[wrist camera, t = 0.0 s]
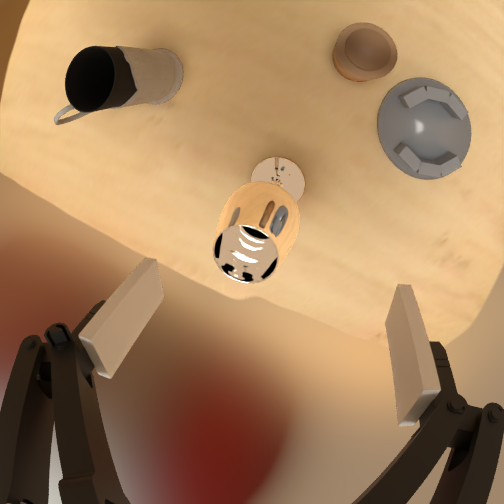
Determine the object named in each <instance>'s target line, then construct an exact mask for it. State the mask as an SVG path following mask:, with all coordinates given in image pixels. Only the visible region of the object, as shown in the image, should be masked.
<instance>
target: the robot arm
mask: <svg viewBox="0 0 504 504" xmlns="http://www.w3.org/2000/svg"><path fill="white" fill-rule="evenodd" d="M163 299H164V293H163V289H162V284H161V280H160V275H159V270H158V265H157V260H156V259H152V258H144V259H143V260H142V262H141V263H140V264H139V265H138V266H137V267H136V268H135V269H134V270H133V272H132V273H131V274H130V275H129V276H128V277H127V278H126V279H125V280H124V282H123V283H122V284H121V285H120V286H119V287H118V288H117V290H116V291H115V292H114V293H113V294H112V295H111V296H110V298H109V299H108V300H107V301H104V300H103V301H101V302H99V303H98V304H96V305H95V306H94V307H93V308H92V309H91V311H90V312H89V313H88V314H87V315H86V316H85V318H84V319H83V320H82V321H81V322H80V323H79V325H78V326H77V327H76V328H75V329H74V331H73V332H72V333H70V331H69V329H68V327H67V326H66V325H65V324H64V323H56V324H53V325H51V326H50V327H49V328H47V330H46V331H45V334H44V336H45V338H46V340H47V342H48V343H43V342H42V341H41V339H40V337H39V336H38V335H30V336H28V337H26V338H25V339H24V340H23V341H22V343H21V345H20V348H19V351H18V353H17V356H16V359H15V362H14V365H13V368H12V372H11V375H10V378H9V381H8V384H7V388H6V391H5V395H4V399H3V403H2V407H1V411H0V504H48V496H49V469H50V454H51V443H52V433H53V425H54V421H55V430H56V438H57V445H58V451H59V457H60V463H61V468H62V473H63V479H62V480H60V481H59V484H58V485H59V492H60V496H61V500H62V504H130V502H129V500H128V499H127V497H126V496H125V494H124V493H123V490H122V487H121V485H120V482H119V479H118V476H117V472H116V470H115V466H114V463H113V460H112V457H111V453H110V449H109V445H108V442H107V438H106V434H105V430H104V426H103V422H102V417H101V413H100V408H99V403H98V399H97V393H96V388H95V382H94V376H93V374H92V370H93V369H94V367H95V368H96V370H97V372H98V374H99V375H102V376H105V377H107V378H110V379H111V378H112V376H113V375H114V373H115V372H116V370H117V369H118V367H119V365H120V364H121V362H122V360H123V359H124V357H125V356H126V354H127V353H128V351H129V350H130V348H131V347H132V345H133V344H134V342H135V341H136V339H137V338H138V336H139V334H140V333H141V331H142V330H143V328H144V327H145V325H146V324H147V322H148V321H149V319H150V318H151V316H152V315H153V313H154V312H155V310H156V309H157V308H158V306H159V305H160V303H161V302H162V300H163ZM385 326H386V332H387V337H388V344H389V350H390V357H391V364H392V371H393V379H394V387H395V396H396V407H397V418H398V426H412V425H413V426H414V425H415V423H416V422H417V421H418V420H419V421H420V428H419V429H418V430H417V431H416V432H415V433H414V434H413V436H412V438H411V439H410V440H409V442H408V443H407V444H406V445H405V447H404V448H403V449H402V450H401V452H400V453H399V454H398V455H397V457H395V459H394V460H393V461H392V462H391V463H390V464H389V466H388V467H387V468H386V469H385V470H384V471H383V472H382V473H381V475H380V476H379V477H378V478H377V479H376V480H375V481H374V482H373V483H372V484H371V485H370V486H369V487H368V488H367V489H366V490H365V491H364V492H363V493H362V494H361V495H360V496H359V497H358V498H357V499H356V500H355V501H354V502H353V503H352V504H406V503H407V502H408V501H409V499H410V498H411V497H412V496H413V495H414V493H415V492H416V490H417V489H418V488H419V487H420V486H421V484H422V483H423V482H424V480H425V479H426V478H427V476H428V475H429V473H430V472H431V471H432V469H433V468H434V466H435V465H436V463H437V462H438V460H439V459H440V457H441V456H442V454H443V453H444V451H445V450H446V448H447V447H450V448H451V451H450V454H449V457H448V460H447V462H446V465H445V468H444V471H443V473H442V476H441V479H440V481H439V483H438V486H437V488H436V491H435V493H434V495H433V498H432V500H431V502H430V504H486V502H487V499H488V496H489V493H490V490H491V486H492V483H493V479H494V475H495V472H496V468H497V463H498V459H499V454H500V450H501V445H502V439H503V433H504V409H503V408H502V407H501V406H500V405H499V404H497V403H489V404H487V405H486V406H485V407H484V408H483V409H482V408H478V407H474V406H470V405H468V404H467V402H466V400H465V399H464V398H463V397H462V396H461V395H459V394H458V393H457V390H456V386H455V382H454V378H453V375H452V371H451V368H450V364H449V361H448V357H447V353H446V350H445V349H444V347H443V346H442V345H441V343H440V342H429V340H428V336H427V333H426V329H425V326H424V323H423V320H422V316H421V313H420V310H419V307H418V304H417V301H416V298H415V295H414V292H413V289H412V287H411V285H405V284H398V285H397V288H396V291H395V295H394V298H393V301H392V304H391V307H390V310H389V313H388V316H387V319H386V322H385ZM37 375H38V376H37Z"/></svg>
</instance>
